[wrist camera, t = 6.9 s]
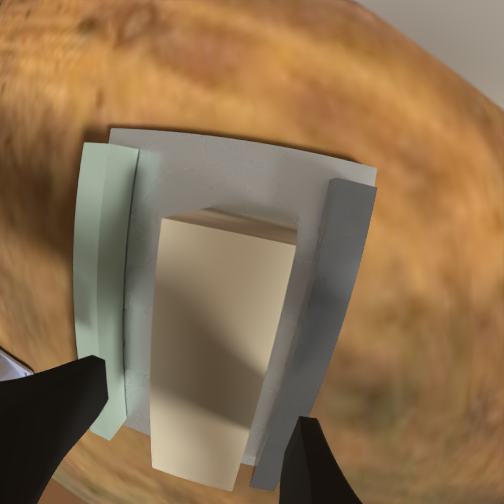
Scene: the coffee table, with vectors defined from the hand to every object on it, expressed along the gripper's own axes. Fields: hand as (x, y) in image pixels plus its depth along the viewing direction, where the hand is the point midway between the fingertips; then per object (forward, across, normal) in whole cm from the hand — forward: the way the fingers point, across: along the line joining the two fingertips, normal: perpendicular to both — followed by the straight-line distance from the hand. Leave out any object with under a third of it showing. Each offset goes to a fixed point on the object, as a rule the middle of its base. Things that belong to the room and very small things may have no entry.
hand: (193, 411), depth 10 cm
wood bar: (+6, 0, 0) cm, 6 cm away
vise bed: (+7, +1, 0) cm, 7 cm away
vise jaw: (+6, +7, 0) cm, 9 cm away
